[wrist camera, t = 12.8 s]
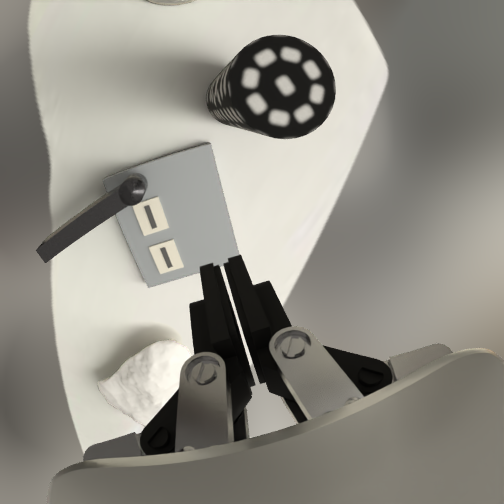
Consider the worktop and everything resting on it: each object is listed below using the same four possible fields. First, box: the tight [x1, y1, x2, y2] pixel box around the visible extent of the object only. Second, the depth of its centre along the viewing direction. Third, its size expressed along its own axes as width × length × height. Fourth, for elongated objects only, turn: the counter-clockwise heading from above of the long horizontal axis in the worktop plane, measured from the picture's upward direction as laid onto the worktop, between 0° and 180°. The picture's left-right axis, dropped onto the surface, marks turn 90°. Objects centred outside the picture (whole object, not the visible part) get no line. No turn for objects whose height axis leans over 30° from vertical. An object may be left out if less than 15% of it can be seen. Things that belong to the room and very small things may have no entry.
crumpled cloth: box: [98, 339, 191, 427], centre depth 52 cm, size 24×35×9 cm
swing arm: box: [36, 173, 148, 263], centre depth 32 cm, size 19×3×4 cm, turn 113°
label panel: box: [103, 143, 239, 288], centre depth 39 cm, size 19×16×3 cm
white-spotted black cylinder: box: [206, 35, 336, 139], centre depth 26 cm, size 8×8×20 cm
